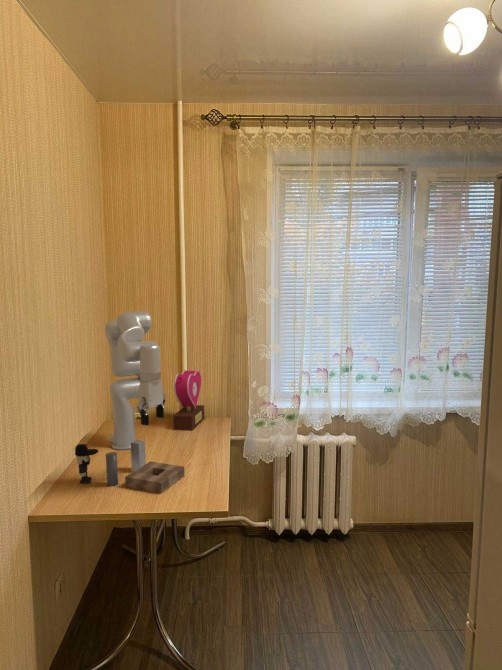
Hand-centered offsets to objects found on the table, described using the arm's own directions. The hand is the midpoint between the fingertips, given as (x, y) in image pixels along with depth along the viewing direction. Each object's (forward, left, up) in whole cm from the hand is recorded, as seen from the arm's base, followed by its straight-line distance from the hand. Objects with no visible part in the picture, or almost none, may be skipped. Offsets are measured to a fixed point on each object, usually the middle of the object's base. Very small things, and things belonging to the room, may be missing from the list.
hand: (152, 421), depth 178 cm
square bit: (-13, +7, -24) cm, 28 cm away
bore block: (0, 0, -24) cm, 24 cm away
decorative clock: (-25, +67, -24) cm, 75 cm away
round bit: (-14, -8, -24) cm, 29 cm away
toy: (-25, -9, -24) cm, 36 cm away
